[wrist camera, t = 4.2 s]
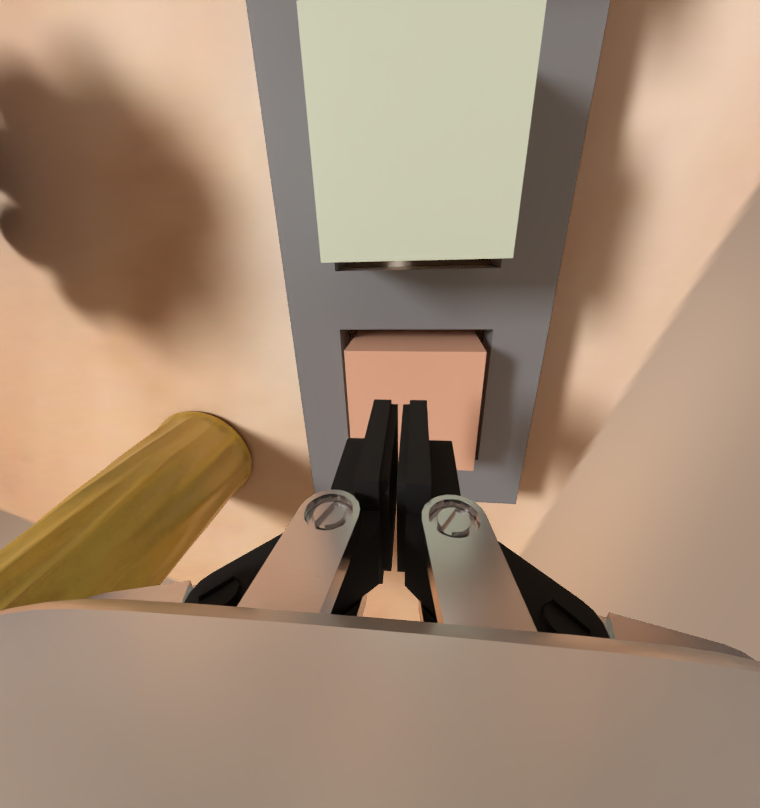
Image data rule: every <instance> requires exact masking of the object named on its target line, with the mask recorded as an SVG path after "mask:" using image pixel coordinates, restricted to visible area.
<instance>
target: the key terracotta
mask: <svg viewBox="0 0 760 808" xmlns="http://www.w3.org/2000/svg"><path fill="white" fill-rule="evenodd" d="M486 354H487V352H486V350H485V348H484V347H483V345H482V343H481V342H480V340H479V338H478V337H477V335H476V333H475V332H474V330H359V331H358V332H357V334H356V335H355V337H354V338H353V339H352V341H351V342H350V343H349V345H348V346H347V348H346V349H345V350H344V357H345V371H346V384H347V397H348V411H349V424H350V438H365V434H366V430H367V426H368V422H369V418H370V414H371V410H372V406H373V402H374V399H382V400H391V401H392V404H398V460H399V448H400V436H401V424H402V411H403V404H410V400H427V411H428V429H429V440H442V441H452V444H453V450H454V456H455V462H456V468H457V470H465V471H473V469H474V461H475V452H476V443H477V434H478V425H479V416H480V407H481V398H482V389H483V380H484V371H485V363H486Z"/></svg>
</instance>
